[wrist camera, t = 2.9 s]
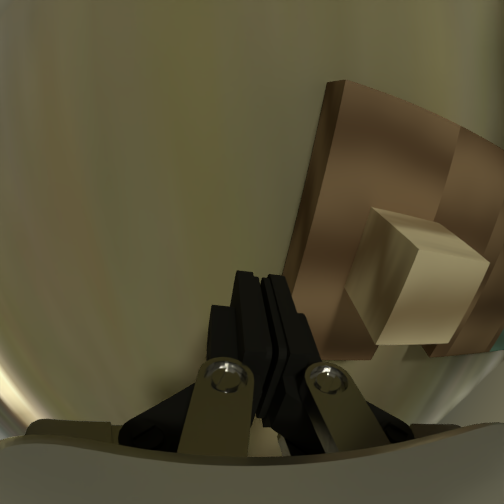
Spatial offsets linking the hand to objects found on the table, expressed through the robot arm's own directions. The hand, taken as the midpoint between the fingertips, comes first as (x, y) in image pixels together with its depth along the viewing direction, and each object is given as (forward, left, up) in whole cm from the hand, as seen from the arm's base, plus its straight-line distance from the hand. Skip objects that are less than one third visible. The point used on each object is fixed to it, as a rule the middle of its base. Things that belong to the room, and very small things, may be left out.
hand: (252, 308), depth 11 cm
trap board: (0, +18, -9) cm, 20 cm away
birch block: (0, +9, -6) cm, 10 cm away
